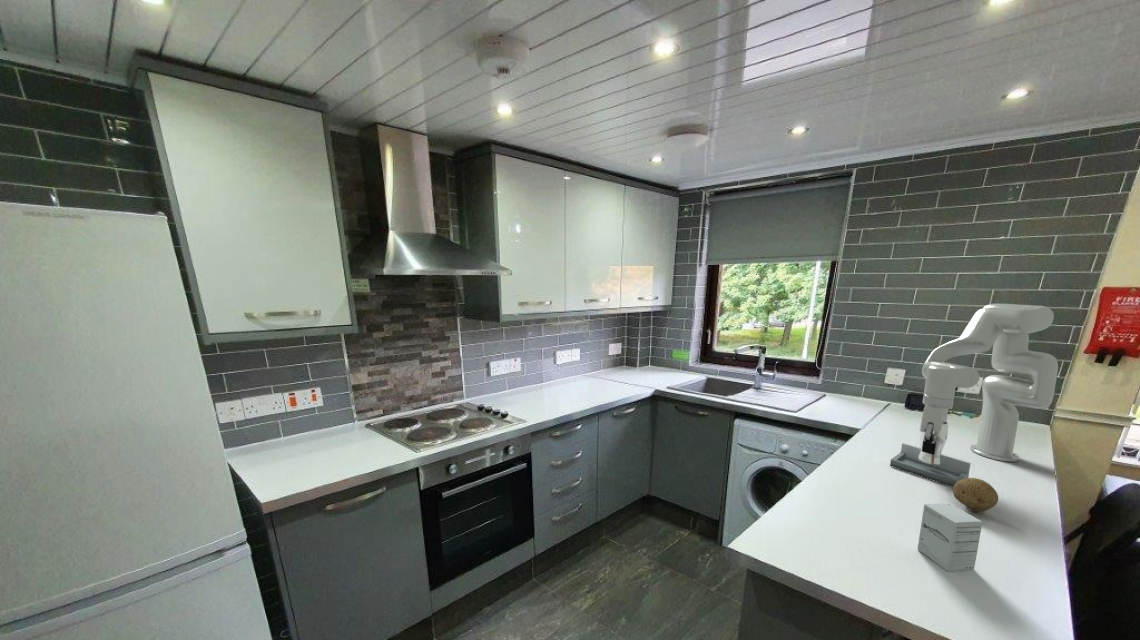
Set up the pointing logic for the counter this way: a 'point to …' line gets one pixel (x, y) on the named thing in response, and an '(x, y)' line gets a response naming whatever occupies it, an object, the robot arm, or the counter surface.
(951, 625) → the counter surface
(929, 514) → the supplement box
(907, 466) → the guarded tray
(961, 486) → the natural sponge
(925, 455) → the beer glass
